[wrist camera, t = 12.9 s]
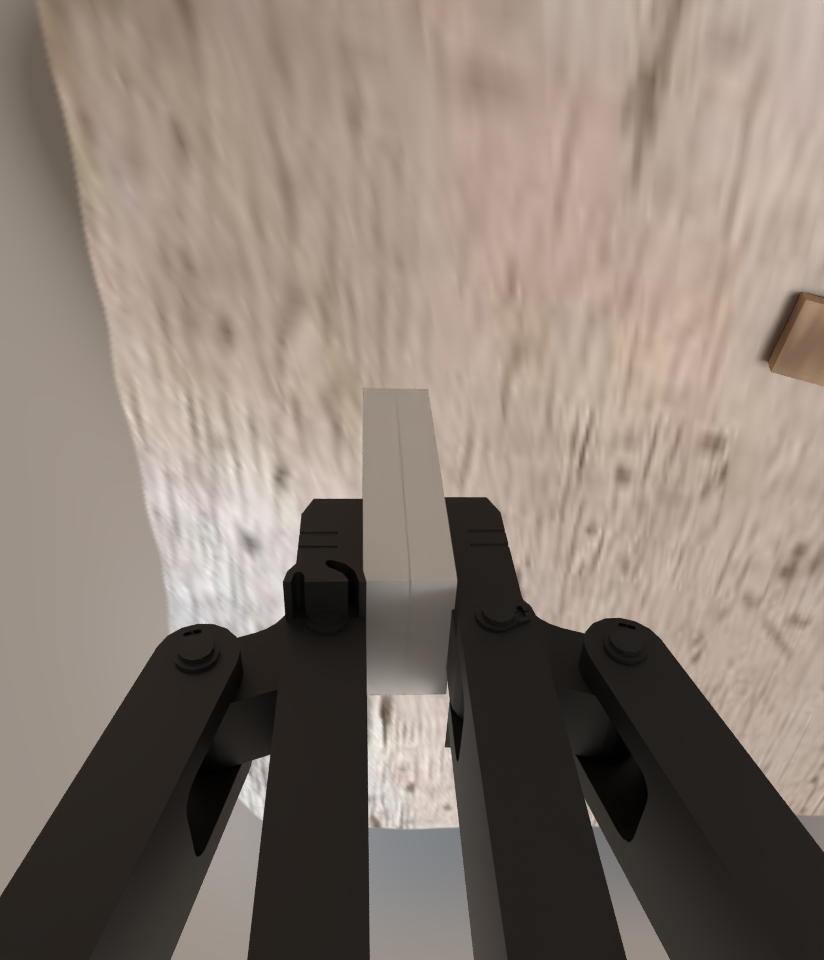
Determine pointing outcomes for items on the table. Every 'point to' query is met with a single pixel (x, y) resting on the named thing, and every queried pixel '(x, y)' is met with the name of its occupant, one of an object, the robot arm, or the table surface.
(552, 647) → the robot arm
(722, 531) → the table surface
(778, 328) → the table surface
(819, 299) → the domino
